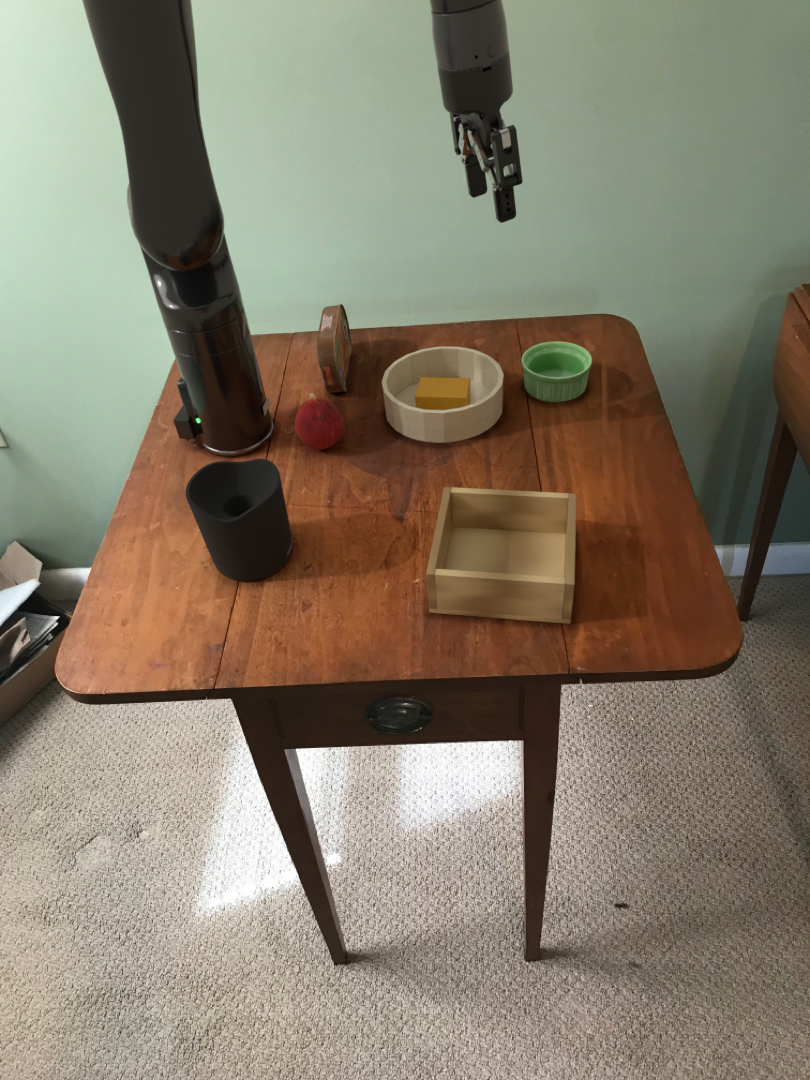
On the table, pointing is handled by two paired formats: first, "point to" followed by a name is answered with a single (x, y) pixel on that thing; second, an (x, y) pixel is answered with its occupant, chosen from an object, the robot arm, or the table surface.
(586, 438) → the table surface
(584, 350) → the ramekin
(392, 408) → the bowl
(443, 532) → the box
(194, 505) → the pen holder
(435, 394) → the yellow rectangular block
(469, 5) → the robot arm
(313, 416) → the onion
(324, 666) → the table surface
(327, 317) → the tin
